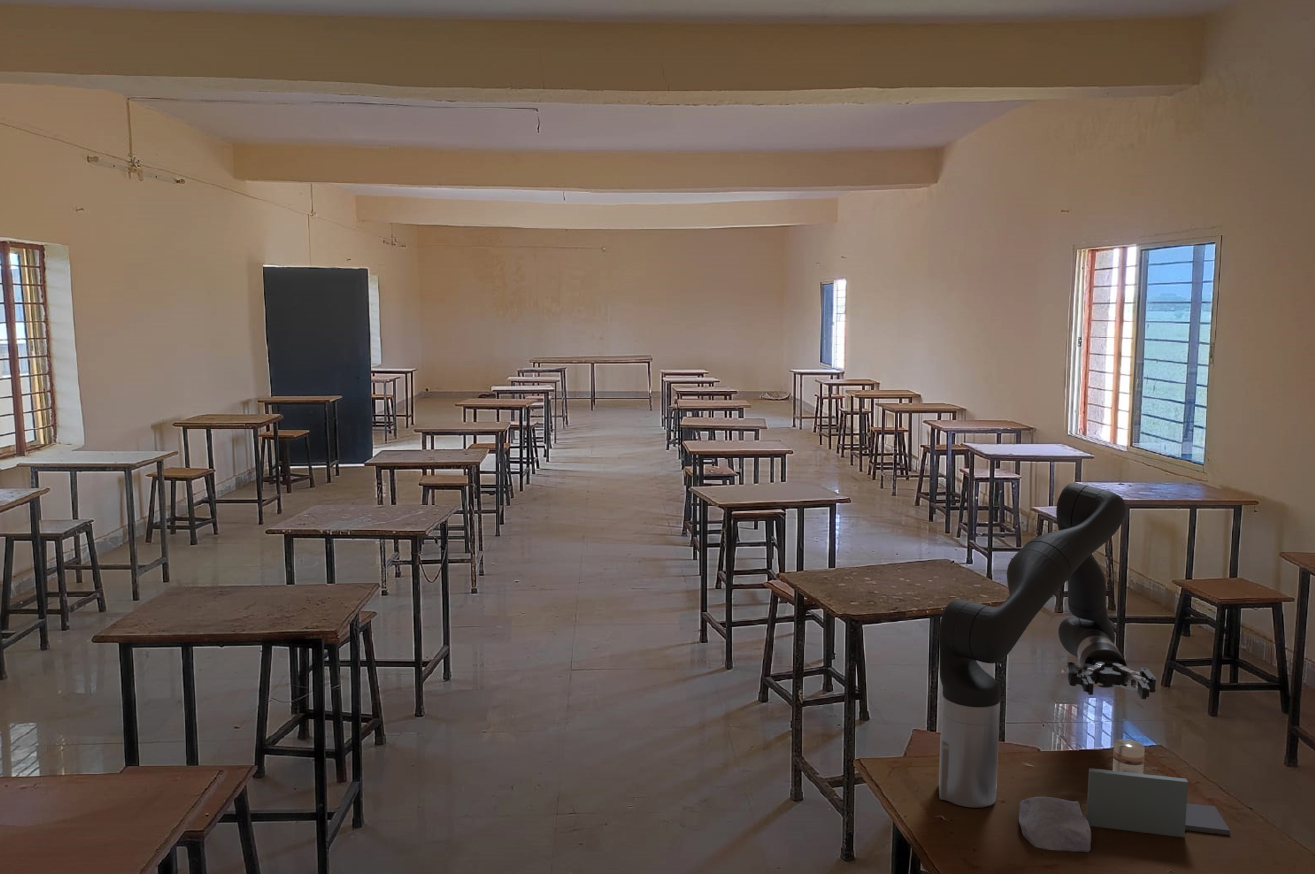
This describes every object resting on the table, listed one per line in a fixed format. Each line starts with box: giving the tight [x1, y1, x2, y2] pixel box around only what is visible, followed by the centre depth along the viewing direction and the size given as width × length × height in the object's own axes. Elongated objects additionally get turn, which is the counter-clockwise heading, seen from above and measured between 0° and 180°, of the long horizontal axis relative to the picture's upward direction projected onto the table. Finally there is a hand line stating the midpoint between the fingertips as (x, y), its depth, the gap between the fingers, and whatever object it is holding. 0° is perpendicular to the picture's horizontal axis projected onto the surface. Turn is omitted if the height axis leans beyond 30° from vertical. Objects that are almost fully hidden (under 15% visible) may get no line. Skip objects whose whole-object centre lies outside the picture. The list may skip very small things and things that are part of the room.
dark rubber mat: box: [1185, 802, 1231, 836], centre depth 156 cm, size 8×8×1 cm
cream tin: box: [1112, 738, 1146, 774], centre depth 159 cm, size 5×5×11 cm
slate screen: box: [1085, 768, 1189, 838], centre depth 153 cm, size 14×1×9 cm, turn 75°
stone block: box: [1018, 795, 1092, 853], centre depth 153 cm, size 12×5×10 cm
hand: (1117, 691), depth 169 cm, fingers open, 8 cm apart
